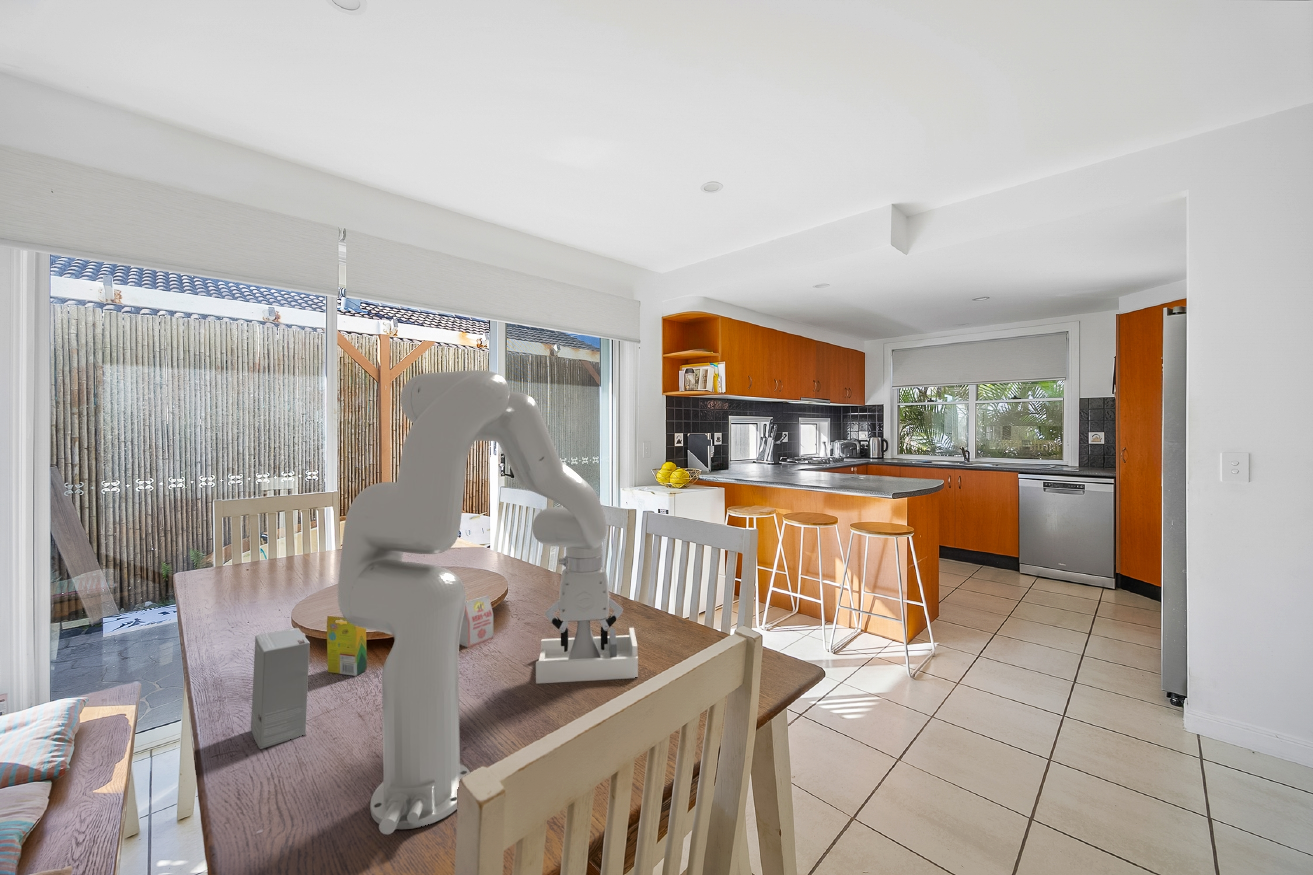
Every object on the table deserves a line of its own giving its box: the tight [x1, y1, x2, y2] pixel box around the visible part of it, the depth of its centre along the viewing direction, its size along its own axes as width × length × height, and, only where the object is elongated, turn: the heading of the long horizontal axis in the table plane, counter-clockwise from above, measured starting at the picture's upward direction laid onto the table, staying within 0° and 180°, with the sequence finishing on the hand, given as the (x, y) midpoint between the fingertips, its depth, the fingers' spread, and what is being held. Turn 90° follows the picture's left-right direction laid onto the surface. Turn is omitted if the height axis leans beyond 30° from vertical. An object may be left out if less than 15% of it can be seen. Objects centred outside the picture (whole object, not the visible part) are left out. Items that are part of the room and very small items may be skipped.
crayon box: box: [326, 615, 368, 677], centre depth 111 cm, size 7×3×12 cm, turn 74°
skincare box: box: [250, 627, 311, 750], centre depth 89 cm, size 8×7×16 cm
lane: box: [535, 627, 639, 685], centre depth 113 cm, size 12×20×6 cm, turn 97°
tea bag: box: [459, 594, 494, 649], centre depth 127 cm, size 4×7×10 cm, turn 143°
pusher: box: [608, 627, 617, 657], centre depth 114 cm, size 9×1×5 cm, turn 7°
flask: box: [568, 621, 601, 659], centre depth 113 cm, size 7×7×10 cm
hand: (584, 647), depth 113 cm, fingers open, 7 cm apart
